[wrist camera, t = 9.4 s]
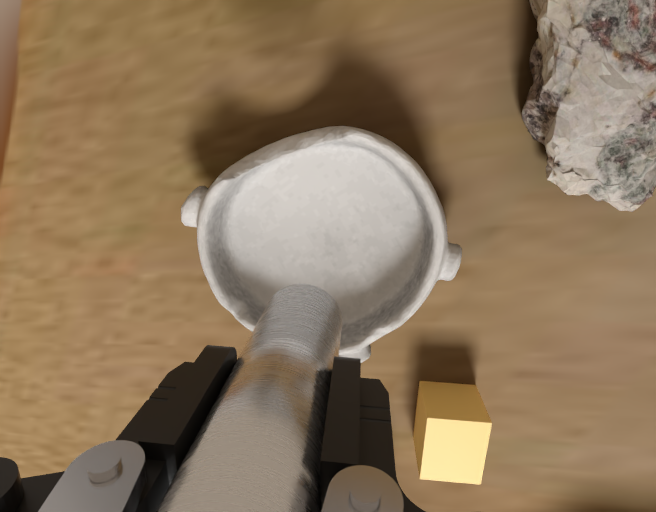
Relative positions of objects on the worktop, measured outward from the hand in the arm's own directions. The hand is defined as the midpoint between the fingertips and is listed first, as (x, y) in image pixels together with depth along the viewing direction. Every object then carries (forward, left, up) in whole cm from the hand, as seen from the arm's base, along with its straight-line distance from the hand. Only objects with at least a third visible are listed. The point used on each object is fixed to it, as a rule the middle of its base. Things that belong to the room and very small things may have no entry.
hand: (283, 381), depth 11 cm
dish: (0, 0, -17) cm, 17 cm away
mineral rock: (-14, -10, -17) cm, 24 cm away
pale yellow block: (-9, +13, -16) cm, 23 cm away
